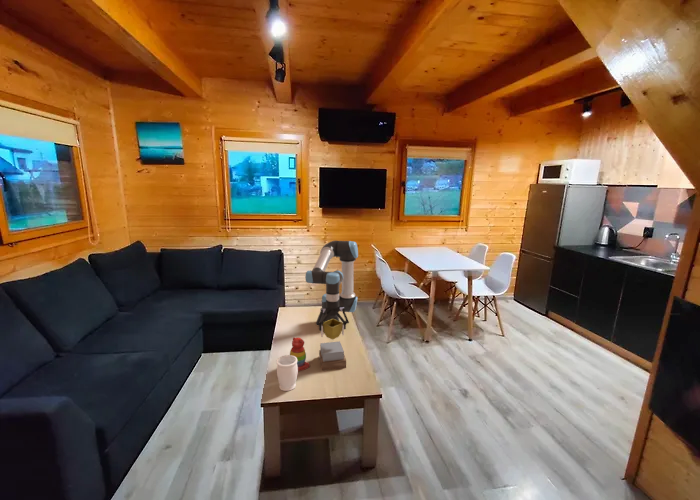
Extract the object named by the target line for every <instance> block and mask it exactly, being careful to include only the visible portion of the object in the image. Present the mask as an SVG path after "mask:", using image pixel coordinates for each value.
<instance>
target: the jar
mask: <svg viewBox="0 0 700 500" xmlns="http://www.w3.org/2000/svg"><path fill="white" fill-rule="evenodd" d="M297 361H298V360H297V358H296V357H295V356H292V355H290V354H288V355H287V354H286V355H281V356H280V357H278V358H277V359H276V376H277V381H278V384H279V386H278V388H279V389H280V390H281V391H282V392H283V391H284V392H288V391H292V390H294V389H295V388H296V387H297V383H296V382H297V379H298V372H299V371H298V366H297Z"/></svg>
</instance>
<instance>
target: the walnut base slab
mask: <svg viewBox="0 0 700 500" xmlns="http://www.w3.org/2000/svg"><path fill="white" fill-rule="evenodd" d="M318 352H319V362H320V366H321V371H326V370H327V371H328V370H337V369H346V368H347V359H346V356H345V354H344V359H342V360H334V361H325V362H323V359H322V355H321V351H320V349H319V351H318Z"/></svg>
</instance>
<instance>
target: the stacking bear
mask: <svg viewBox="0 0 700 500" xmlns="http://www.w3.org/2000/svg"><path fill="white" fill-rule="evenodd" d="M304 345H305V340H304V339H303V338H302V337H293V338H292V341H291V346H292V347H291V349H290V352H289V355H292V356H295V357H296V358H297V360H298V361H297V366H298V372H300V371H304V370H306V369H309V368H310V366H311V365H310V363H309V362H307V360H306V359H307V352H306V349H305V347H304Z"/></svg>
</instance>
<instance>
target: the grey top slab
mask: <svg viewBox="0 0 700 500" xmlns="http://www.w3.org/2000/svg"><path fill="white" fill-rule="evenodd" d="M319 344H320V345H319V346H320V348H319V350H320V351H321V355H322V359H323V362H325V361H334V360H342V359H344V355H345V350H344V349H343V346H342V343H341V341H340V340H339V341H331V342H330V341H329V342H320V343H319Z"/></svg>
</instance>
